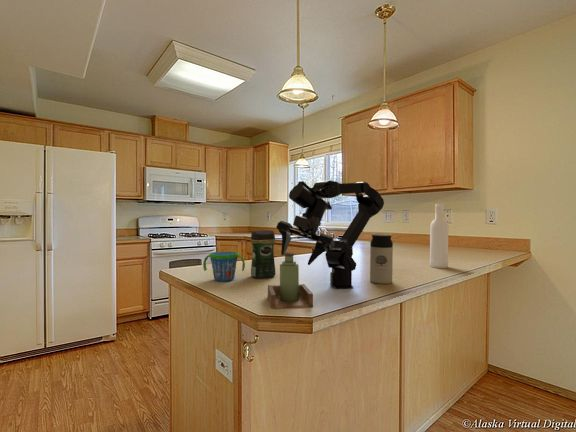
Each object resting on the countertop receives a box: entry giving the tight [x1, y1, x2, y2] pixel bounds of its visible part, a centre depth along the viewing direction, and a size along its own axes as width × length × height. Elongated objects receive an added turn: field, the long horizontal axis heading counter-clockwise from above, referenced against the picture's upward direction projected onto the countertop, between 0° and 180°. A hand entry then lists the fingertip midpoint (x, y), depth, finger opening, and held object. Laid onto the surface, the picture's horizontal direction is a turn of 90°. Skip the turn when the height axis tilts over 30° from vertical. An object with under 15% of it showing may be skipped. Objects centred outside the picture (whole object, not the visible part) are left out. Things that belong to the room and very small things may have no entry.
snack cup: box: [202, 251, 246, 282], centre depth 119 cm, size 16×10×10 cm
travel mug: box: [369, 232, 394, 285], centre depth 117 cm, size 8×8×18 cm
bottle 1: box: [279, 252, 300, 302], centre depth 90 cm, size 5×5×13 cm
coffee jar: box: [250, 229, 276, 279], centre depth 125 cm, size 10×8×19 cm
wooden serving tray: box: [267, 283, 314, 309], centre depth 90 cm, size 11×11×4 cm
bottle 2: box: [429, 203, 449, 269], centre depth 150 cm, size 8×8×30 cm
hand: (294, 259), depth 97 cm, fingers open, 9 cm apart
